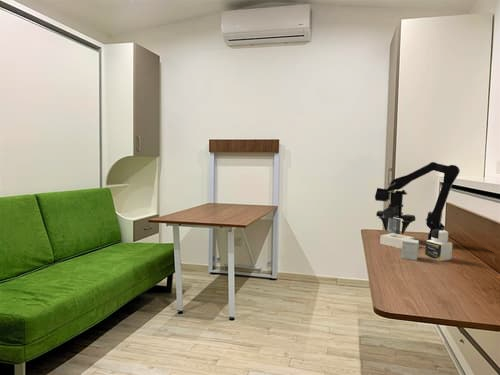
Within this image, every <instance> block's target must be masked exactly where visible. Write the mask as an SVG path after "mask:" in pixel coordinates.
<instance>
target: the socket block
mask: <svg viewBox="0 0 500 375" xmlns="http://www.w3.org/2000/svg"><path fill="white" fill-rule="evenodd" d="M404 238H405V239H413V240H415V237H414V236H408V235H404V234H401V233H400V234H395V233H391V234H388V233H387V234H380V242H379V244H380V245H385V246H389V247H392V248H397V249H401V250H402V242H403V239H404Z"/></svg>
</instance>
